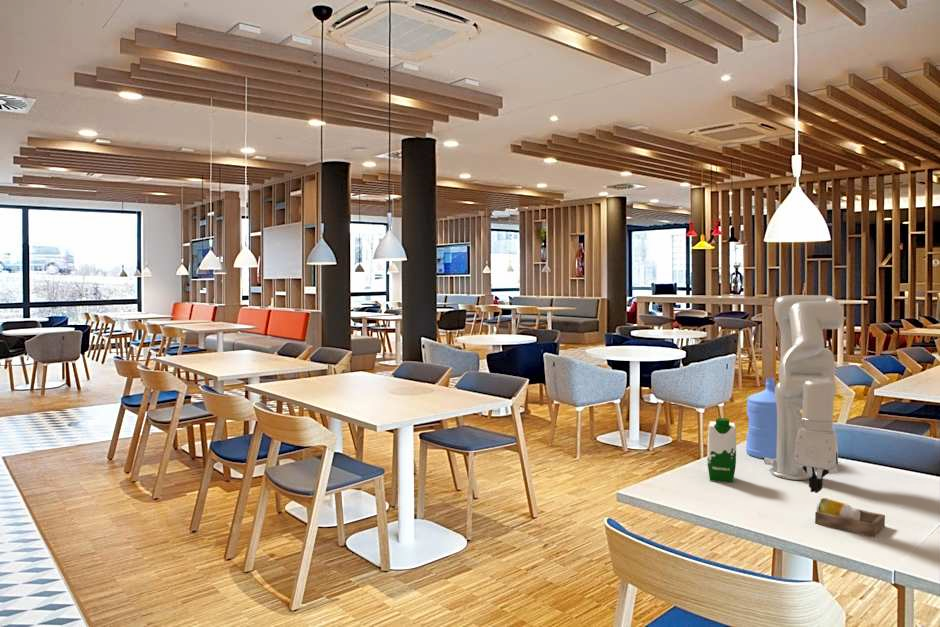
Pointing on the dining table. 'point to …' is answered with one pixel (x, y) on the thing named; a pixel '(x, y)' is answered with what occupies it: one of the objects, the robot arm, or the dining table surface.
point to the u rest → (853, 522)
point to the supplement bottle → (837, 509)
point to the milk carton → (721, 450)
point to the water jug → (762, 422)
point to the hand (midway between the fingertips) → (815, 491)
